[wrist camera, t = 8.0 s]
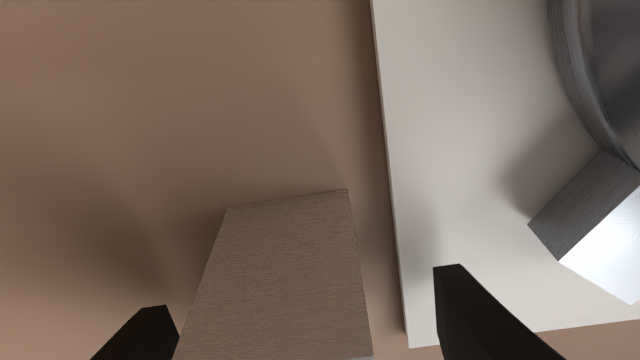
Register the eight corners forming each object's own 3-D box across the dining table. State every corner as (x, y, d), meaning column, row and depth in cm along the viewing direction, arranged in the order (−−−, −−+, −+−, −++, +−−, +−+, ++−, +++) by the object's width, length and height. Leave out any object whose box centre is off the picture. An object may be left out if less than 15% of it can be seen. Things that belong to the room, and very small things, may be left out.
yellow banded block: (372, 336, 12) (406, 546, 8) (269, 350, 13) (244, 562, 8) (349, 187, 10) (378, 359, 6) (225, 207, 10) (158, 388, 6)
